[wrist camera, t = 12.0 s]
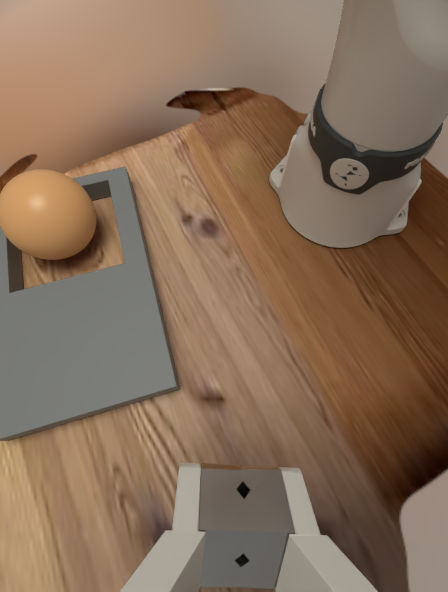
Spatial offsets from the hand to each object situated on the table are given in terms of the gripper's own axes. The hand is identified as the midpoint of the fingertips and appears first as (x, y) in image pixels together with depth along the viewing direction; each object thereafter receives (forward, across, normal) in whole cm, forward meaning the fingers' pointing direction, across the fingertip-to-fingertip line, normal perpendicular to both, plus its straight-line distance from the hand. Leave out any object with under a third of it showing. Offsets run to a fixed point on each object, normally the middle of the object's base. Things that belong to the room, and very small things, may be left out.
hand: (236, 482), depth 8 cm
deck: (+32, +16, +8) cm, 36 cm away
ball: (+33, +19, 0) cm, 38 cm away
